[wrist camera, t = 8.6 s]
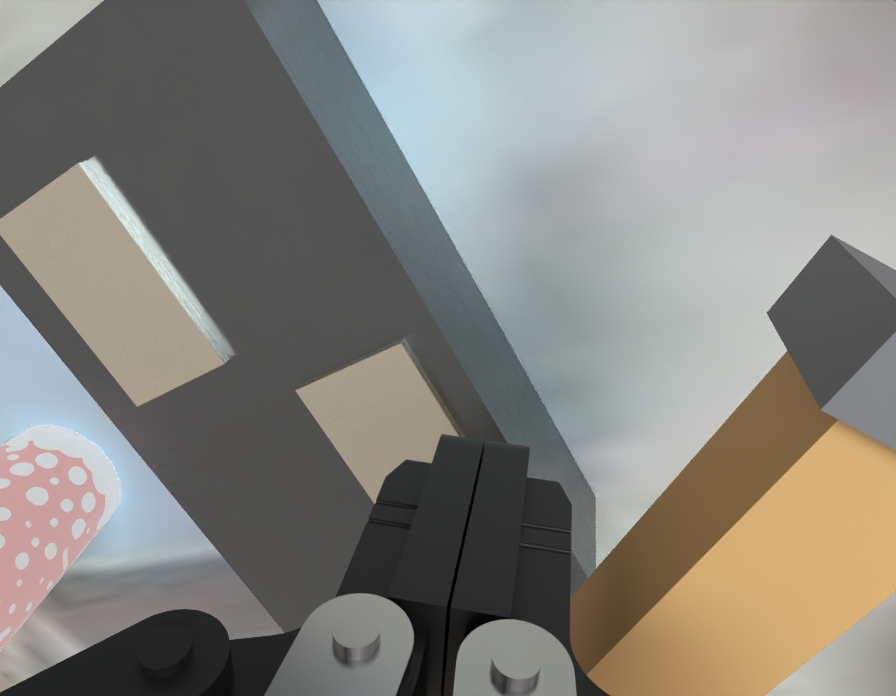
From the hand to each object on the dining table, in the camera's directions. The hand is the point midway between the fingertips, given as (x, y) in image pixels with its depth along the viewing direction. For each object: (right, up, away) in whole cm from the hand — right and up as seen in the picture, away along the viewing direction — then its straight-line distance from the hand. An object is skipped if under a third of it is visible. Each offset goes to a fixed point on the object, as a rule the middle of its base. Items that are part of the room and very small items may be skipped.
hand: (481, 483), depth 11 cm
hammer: (+2, -3, 0) cm, 3 cm away
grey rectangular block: (-4, +3, +10) cm, 11 cm away
